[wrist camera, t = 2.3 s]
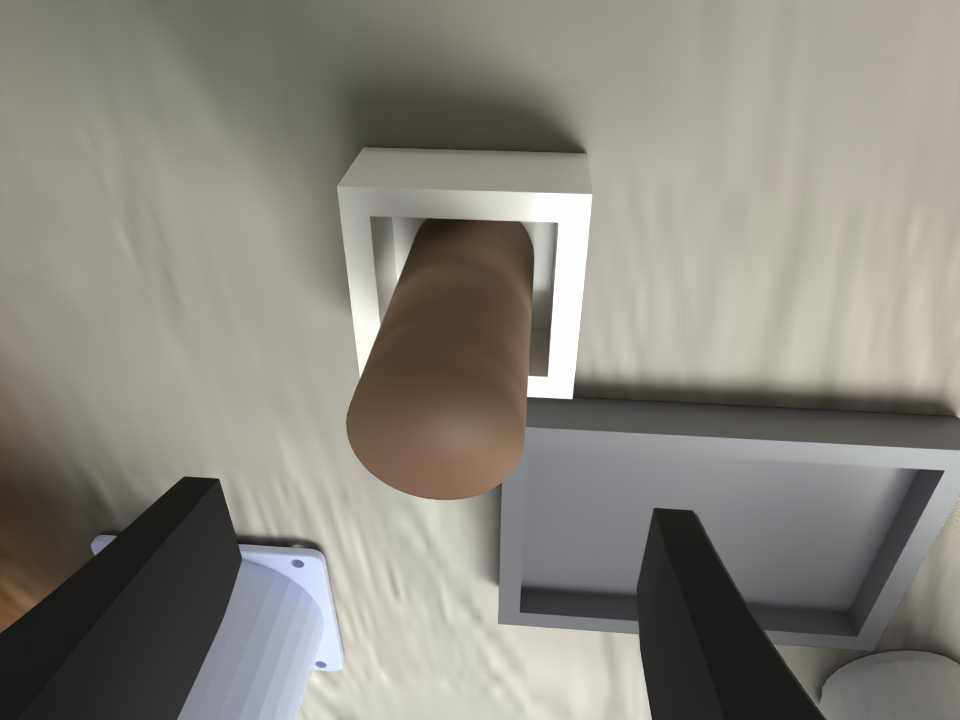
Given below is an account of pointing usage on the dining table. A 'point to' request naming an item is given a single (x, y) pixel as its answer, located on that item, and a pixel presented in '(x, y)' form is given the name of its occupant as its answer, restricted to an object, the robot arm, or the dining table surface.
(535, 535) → the tray
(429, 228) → the dowel
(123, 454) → the dining table surface
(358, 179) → the white square frame
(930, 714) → the coffee cup
